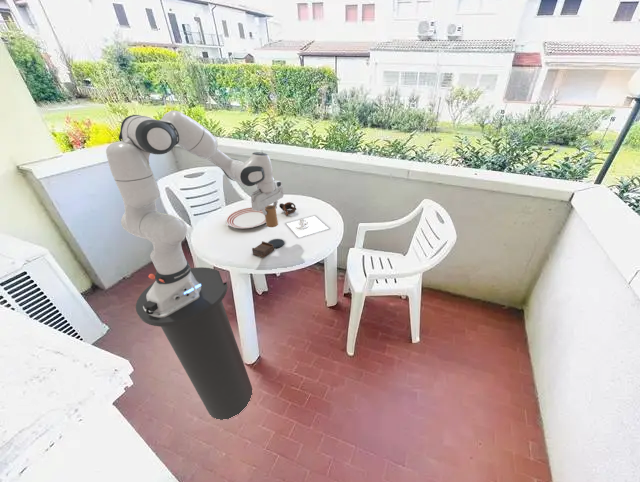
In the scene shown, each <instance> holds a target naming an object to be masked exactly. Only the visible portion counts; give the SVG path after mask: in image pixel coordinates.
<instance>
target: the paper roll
mask: <svg viewBox="0 0 640 482" xmlns="http://www.w3.org/2000/svg"><path fill="white" fill-rule="evenodd" d="M265 211H267V213H268V214H267V215H265V220H266V223H265V225H266V227H268V228H276V227H278V226H279V220H278V215H277V209H276V208H275V206H273V204H270V205H268V206H267V207H265Z"/></svg>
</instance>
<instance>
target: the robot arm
mask: <svg viewBox="0 0 640 482" xmlns="http://www.w3.org/2000/svg"><path fill="white" fill-rule="evenodd" d="M118 140H119V141H116V142H112V143H110V144H109V145H108V146H107V147H106V150H105V154H106V159H107V163H108V167H109V169H110V172H111V175H112V177H113V180H114V182H115V185H116V186H117V189H118V191H119V193H120V196H121V198H122V202H123V206H124V213H123V214H122V217H121V220H120V224H121V227H122V228H123V230H124V231H125V232H127V233H129V234H130V235H132V236H134V237H137V238H140V239H144V240H148V241H149V242H150V243H151V245H152V247H153V249H152V250H151V252H150V255H149V257H150V260H151V262H152V264H153V266H154V268H155V270H156V271H155V274H154V273H149V274H148V279H150V280H155V281H154V282H153V283H154V284H153V283H152V284H153V285H152V287H151V288H150V290H149V291H148V293H147V295H146V299H147V302H146V303H145V304H143V309H144V311H145V312H146V313H147V314H149V315H151V316H153V317H157V318H164V317H167V316H168V315H170V314H172V313H174V312H176V311H177V310H179V309H181V308H183V307H184V306H186V305H188V304H190V303H191V302H193V301H195V300H197V299H198V298H199V297H200V295H199V293H200V290H201V284H199V283H198V281H197V280H196V279H195V277H194V276H193V274H192V272H191V268H192V267H191V265H190V263H189V261H188V260H187V259H186V256H185V253H184V251H183V247H182V241H184V240H185V238H186V236H187V234H188V227H187V223H186V222H185V221H184V220H182V219H181V218H179V217H177V216H175V215H172V214H168V213H163V212H160V211H159V210H158V207H157V200H159V198H160V197H161V192H160V189H159V186H158V183H157V181H156V178H155V175H154V173H153V170H152V167H151V165H150V160H149V159H150V155H151V154H152V155H165V154H167V153H169V152H170V151H172V150H173V149H174V148H175V147H176V146H179V147H180V148H183V149H184V150H185V151H187V152H188V153H190V154H192V155H194V156H196V157H198V158H201V159H203V160H208V161H210V162H211V163H212V164H214V165H215V166H217V167H218V168H219V169H221V170H222V172H223V173H224V175H225V176H226V178H228V179H229V180H230V181H234V182H236V183H238V184H241V185H244V186H247V187H253V186H255V185H256V190H254V191H253V192H252V193H251V196H250V198H251V199H250V201H251V202H250V203H251V207H252V209H254V210H256V211H260V210H262V212H263V214H264V215H267V214H268V213H267V211H265V207H267V206H268V205H273V206H275V208H276V210H277V209H278V203H279V200H281V199H282V198H284V195H285V194H284V187H283V182H282V180H278V179H275V177H274V175H273V172H274V169H273V164H272V160H271V157H270V155H269V154H267V153H266V152H261V151H260V152H259V151H254V152H252V153H251V155H250V157H249V158H248V159H247V160H246V161H242V160H239V159H238V158H233V157H230V156H229V155H227V154H226V153H224V152H223V151H222V150H221V149H219V148H218V145H219V144H218V139H217V137H215V135H214V134H213V133H212V132H211V131H209V130H208V129H207V128H206V127H205V126H203V125H202V124H201V123H199V122H198V121H196V120H195V119H193V118H191V117H190V116H188V115H186V114H185V113H182V112H181V111H179V110H170V111H168V112H167V111H166V113H165V114H164V115H163V116H162V117H161V118H160V119H155V118H153V117H151V116H147V115H146V116H145V115H141V114H132V115H128V116H127V117H126V116H125V118H124V119H123V120H122V122H121V125H120V130H119V135H118Z"/></svg>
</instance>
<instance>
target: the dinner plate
mask: <svg viewBox="0 0 640 482" xmlns="http://www.w3.org/2000/svg"><path fill="white" fill-rule="evenodd" d="M225 222H226V224H227V225H228V226H229V227H231V228H233V229H243V230H244V229H252V228H256V227H259V226H262V225H264V224H266V220H265V215H264V214H263V212H262V210H260V211H256V210H254V209H252V206H251V207H250V206H249V207H245V208H241V209H238V210H236V211H233V212H231V213H230V214H229V215H228V216H227V218H226V219H225Z"/></svg>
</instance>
